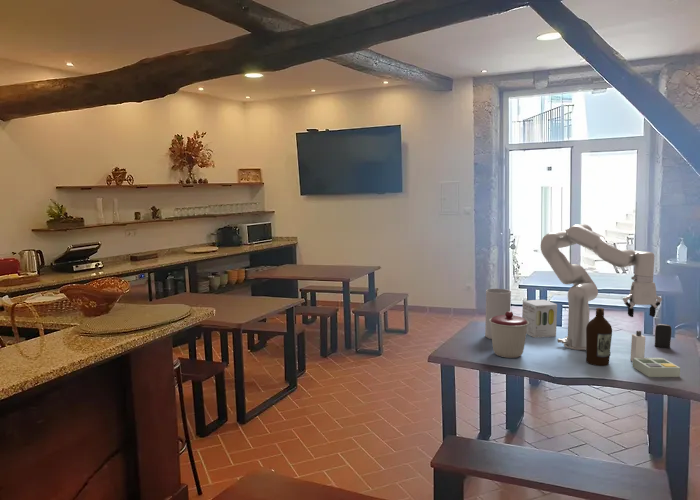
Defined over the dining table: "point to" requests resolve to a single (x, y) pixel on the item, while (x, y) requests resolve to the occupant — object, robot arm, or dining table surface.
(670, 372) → the socket block
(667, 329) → the battery charger
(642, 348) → the plug
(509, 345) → the canister
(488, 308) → the cylinder vase
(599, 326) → the olive oil
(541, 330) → the supplement box
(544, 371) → the dining table surface
